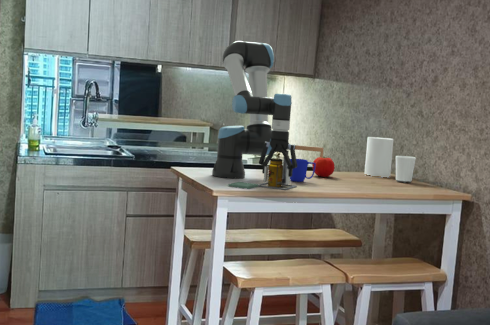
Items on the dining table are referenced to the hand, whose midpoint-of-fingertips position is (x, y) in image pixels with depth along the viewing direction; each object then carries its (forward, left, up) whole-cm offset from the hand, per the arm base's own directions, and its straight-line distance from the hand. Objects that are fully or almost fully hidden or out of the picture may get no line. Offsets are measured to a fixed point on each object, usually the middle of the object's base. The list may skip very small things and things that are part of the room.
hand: (276, 182), depth 285 cm
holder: (0, 0, -2) cm, 2 cm away
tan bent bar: (+7, +10, +12) cm, 17 cm away
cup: (+40, +71, -2) cm, 82 cm away
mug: (+2, +26, -2) cm, 26 cm away
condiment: (0, 0, -2) cm, 2 cm away
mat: (-10, -12, -2) cm, 16 cm away
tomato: (+3, +55, -2) cm, 55 cm away
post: (0, +9, -2) cm, 9 cm away
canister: (+23, +87, -2) cm, 90 cm away
